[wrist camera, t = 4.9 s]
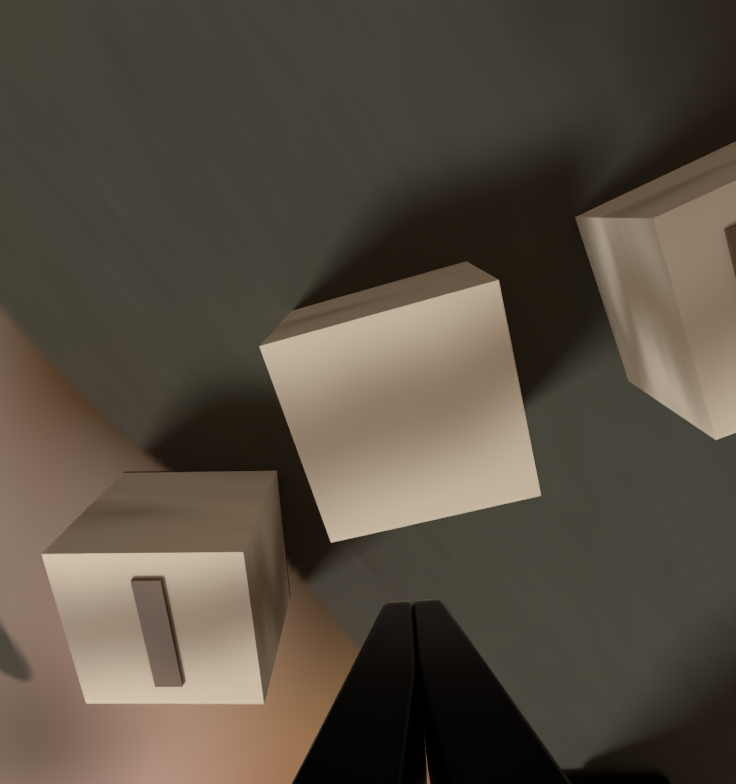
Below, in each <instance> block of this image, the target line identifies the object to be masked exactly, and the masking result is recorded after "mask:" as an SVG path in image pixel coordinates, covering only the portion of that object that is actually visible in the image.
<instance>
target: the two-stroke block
mask: <svg viewBox="0 0 736 784" xmlns="http://www.w3.org/2000/svg"><path fill="white" fill-rule="evenodd" d="M575 219H576V222H577V225H578V228H579V231H580V234H581V237H582V240H583V243H584V246H585V250H586V253H587V256H588V259H589V262H590V265H591V268H592V271H593V274H594V277H595V280H596V283H597V286H598V289H599V292H600V295H601V298H602V301H603V304H604V307H605V310H606V313H607V316H608V320H609V323H610V326H611V329H612V332H613V335H614V338H615V341H616V344H617V347H618V350H619V353H620V356H621V359H622V362H623V365H624V368H625V371H626V374H627V377H628V380H629V382H631V383H632V384H634V385H635V386H637V387H638V388H640V389H641V390H643V391H644V392H646V393H647V394H649V395H650V396H651V397H653V398H654V399H656V400H657V401H659V402H660V403H662V404H663V405H665V406H666V407H668V408H669V409H671V410H672V411H674V412H675V413H677V414H678V415H680V416H681V417H682V418H684V419H685V420H687V421H688V422H690V423H691V424H693V425H694V426H696V427H697V428H699V429H700V430H702V431H703V432H705V433H706V434H708V435H709V436H711V437H712V438H713V439H715V440H718V439H720V438H723V437H725V436H728V435H731V434H733V433H736V141H735V142H733V143H731V144H729V145H727V146H725V147H723V148H721V149H719V150H716V151H714V152H712V153H710V154H708V155H706V156H704V157H702V158H699V159H697V160H695V161H693V162H691V163H689V164H687V165H685V166H683V167H680V168H678V169H676V170H674V171H672V172H670V173H668V174H666V175H663V176H661V177H659V178H657V179H655V180H653V181H651V182H649V183H647V184H644V185H642V186H640V187H638V188H636V189H634V190H632V191H630V192H627V193H625V194H623V195H621V196H619V197H617V198H615V199H613V200H611V201H608V202H606V203H604V204H602V205H600V206H598V207H596V208H594V209H591V210H589V211H587V212H585V213H583V214H581V215H579V216H577V217H575Z"/></svg>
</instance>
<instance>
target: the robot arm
mask: <svg viewBox="0 0 736 784" xmlns="http://www.w3.org/2000/svg"><path fill="white" fill-rule="evenodd" d="M413 609H414V611H413ZM423 725H424V726H423ZM424 736H425V738H424ZM425 746H426V750H425ZM426 756H427V765H428V773H429V779H430V784H671V783H670V781H669V779H668V778H666V777H664V776H650V777H625V778H601V779H577V780H569V779H568V778H567V777H566V775H565V774H564V772H563V771H562V770H561V768H560V767H559V765H558V764H557V762H556V761H555V760H554V758H553V757H552V755H551V754H550V753H549V751H548V750H547V748H546V747H545V746H544V744H543V743H542V741H541V740H540V739H539V737H538V736H537V734H536V733H535V731H534V730H533V729H532V727H531V726H530V724H529V723H528V722H527V720H526V719H525V717H524V716H523V715H522V713H521V712H520V710H519V709H518V708H517V706H516V705H515V703H514V702H513V700H512V699H511V698H510V696H509V695H508V693H507V692H506V691H505V689H504V688H503V686H502V685H501V684H500V682H499V681H498V679H497V678H496V677H495V675H494V674H493V672H492V671H491V669H490V668H489V667H488V665H487V664H486V662H485V661H484V660H483V658H482V657H481V655H480V654H479V653H478V651H477V650H476V648H475V647H474V645H473V644H472V643H471V641H470V640H469V638H468V637H467V636H466V634H465V633H464V631H463V630H462V629H461V627H460V626H459V624H458V623H457V622H456V620H455V619H454V617H453V616H452V614H451V613H450V612H449V610H448V609H447V607H446V606H445V605H444V603H443V602H442V601H441V600H439V599H425V600H416V601H415V602H414V604H412V603H411V602H410V601H394V602H387V603H385V604H384V606H383V608H382V610H381V612H380V613H379V615H378V617H377V619H376V621H375V623H374V625H373V627H372V629H371V631H370V633H369V635H368V637H367V639H366V641H365V643H364V645H363V646H362V648H361V650H360V652H359V654H358V656H357V658H356V660H355V662H354V664H353V666H352V668H351V670H350V672H349V674H348V676H347V678H346V679H345V681H344V683H343V685H342V687H341V690H340V691H339V693H338V695H337V697H336V699H335V701H334V703H333V705H332V707H331V709H330V711H329V712H328V714H327V716H326V719H325V720H324V723H323V724H322V726H321V728H320V730H319V732H318V734H317V736H316V738H315V740H314V742H313V744H312V746H311V748H310V749H309V751H308V754H307V755H306V757H305V759H304V761H303V763H302V765H301V767H300V769H299V771H298V773H297V775H296V777H295V779H294V780H293V782H292V784H427V775H426V773H427V769H426Z"/></svg>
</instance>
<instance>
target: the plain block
mask: <svg viewBox="0 0 736 784" xmlns="http://www.w3.org/2000/svg"><path fill="white" fill-rule="evenodd" d="M259 347H260V350H261V352H262V355H263V358H264V361H265V363H266V366H267V369H268V372H269V374H270V377H271V380H272V383H273V385H274V388H275V391H276V393H277V396H278V399H279V402H280V404H281V407H282V410H283V413H284V415H285V418H286V421H287V424H288V426H289V429H290V432H291V435H292V437H293V440H294V443H295V446H296V448H297V451H298V454H299V457H300V459H301V462H302V465H303V468H304V470H305V473H306V476H307V479H308V481H309V484H310V487H311V490H312V492H313V495H314V498H315V501H316V503H317V506H318V509H319V512H320V514H321V517H322V520H323V523H324V525H325V528H326V531H327V534H328V536H329V539H330V542H331V543H333V542H337V541H342V540H346V539H351V538H355V537H360V536H364V535H369V534H373V533H377V532H382V531H386V530H391V529H395V528H400V527H404V526H409V525H413V524H417V523H422V522H426V521H431V520H435V519H440V518H444V517H449V516H453V515H458V514H462V513H466V512H471V511H475V510H480V509H484V508H489V507H493V506H498V505H502V504H506V503H511V502H515V501H520V500H524V499H529V498H533V497H538V496H541V493H540V488H539V483H538V477H537V472H536V467H535V462H534V457H533V452H532V447H531V442H530V437H529V431H528V426H527V421H526V416H525V411H524V406H523V401H522V396H521V391H520V386H519V380H518V375H517V370H516V365H515V360H514V355H513V350H512V345H511V340H510V334H509V329H508V324H507V319H506V314H505V309H504V304H503V299H502V294H501V289H500V283H499V280H498V279H497V278H495V277H493V276H491V275H490V274H488V273H486V272H484V271H483V270H481V269H479V268H477V267H476V266H474V265H472V264H470V263H468V262H467V261H465V262H462V263H458V264H455V265H451V266H448V267H444V268H441V269H437V270H434V271H430V272H427V273H423V274H420V275H416V276H412V277H409V278H405V279H402V280H398V281H395V282H391V283H388V284H384V285H381V286H377V287H374V288H370V289H367V290H363V291H360V292H356V293H353V294H349V295H346V296H342V297H338V298H335V299H331V300H328V301H324V302H321V303H317V304H314V305H310V306H307V307H303V308H300V309H296V310H293V311H292V312H291V313H290V314H289V315H288V316H287V317H286V318H285V319H284V320H283V321H282V322H281V323H280V324H279V326H278V327H277V328H276V329H275V330H274V331H273V332H272V333H271V334H270V335H269V336H268V337H267V338H266V340H265V341H264V342H263V343H262V344H261V345H260V346H259Z"/></svg>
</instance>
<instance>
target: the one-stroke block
mask: <svg viewBox="0 0 736 784" xmlns="http://www.w3.org/2000/svg"><path fill="white" fill-rule="evenodd" d="M42 557H43V561H44V564H45V568H46V571H47V574H48V578H49V581H50V584H51V587H52V591H53V594H54V598H55V601H56V604H57V608H58V611H59V614H60V618H61V621H62V624H63V628H64V631H65V634H66V637H67V641H68V645H69V648H70V651H71V655H72V658H73V661H74V665H75V667H76V671H77V674H78V678H79V681H80V685H81V688H82V691H83V695H84V698H85V702H86V704H264V703H265V699H266V695H267V691H268V686H269V682H270V678H271V674H272V670H273V666H274V662H275V657H276V653H277V649H278V645H279V641H280V637H281V633H282V628H283V624H284V620H285V616H286V611H287V608H288V603H289V599H290V586H289V577H288V567H287V563H286V555H285V545H284V536H283V526H282V516H281V507H280V497H279V487H278V478H277V471H226V472H169V471H128V472H123V473H122V474H121V475H120V476H119V477H118V478H117V479H116V480H115V481H114V482H113V483H112V484H111V485H110V486H109V487H108V488H107V489H106V490H105V491H104V492H103V493H102V494H101V495H100V496H99V497H98V498H97V499H96V500H95V501H94V502H93V503H92V504H91V505H90V506H89V507H88V508H87V509H86V510H85V511H84V512H83V513H82V514H81V515H80V516H79V517H78V518H77V519H76V520H75V521H74V522H73V523H72V524H71V525H70V526H69V527H68V528H67V529H66V530H65V531H64V532H63V533H62V534H61V535H60V536H59V537H58V538H57V539H56V540H55V541H54V542H53V543H52V544H51V545H50V546H49V547H48V548H47V549H46V550H45V551H44V552H43V553H42Z"/></svg>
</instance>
